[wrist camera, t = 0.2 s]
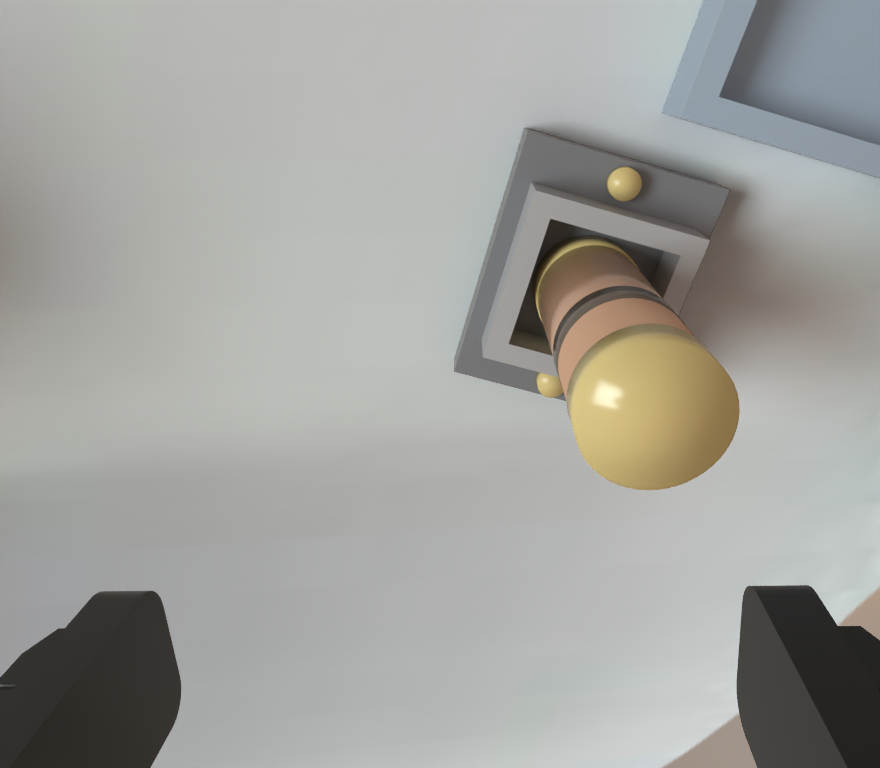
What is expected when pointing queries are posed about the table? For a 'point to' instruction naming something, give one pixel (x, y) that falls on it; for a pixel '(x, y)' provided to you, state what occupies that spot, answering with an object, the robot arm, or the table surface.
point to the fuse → (631, 369)
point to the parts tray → (787, 77)
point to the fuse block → (568, 215)
